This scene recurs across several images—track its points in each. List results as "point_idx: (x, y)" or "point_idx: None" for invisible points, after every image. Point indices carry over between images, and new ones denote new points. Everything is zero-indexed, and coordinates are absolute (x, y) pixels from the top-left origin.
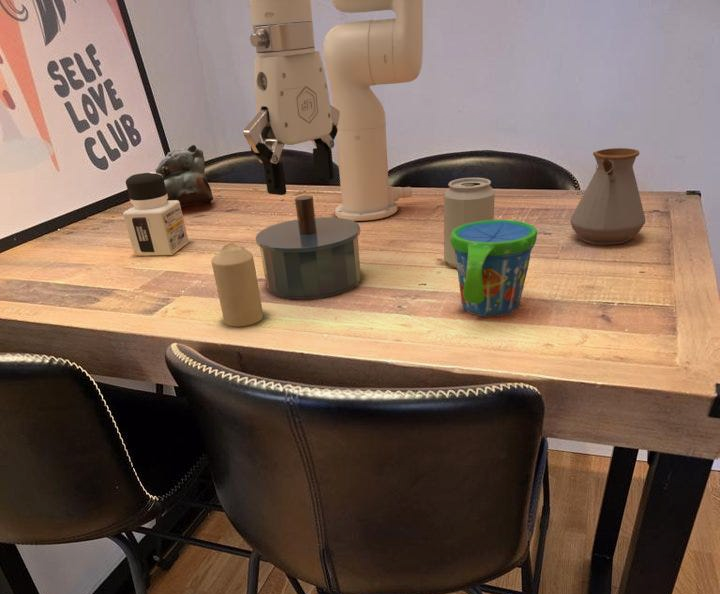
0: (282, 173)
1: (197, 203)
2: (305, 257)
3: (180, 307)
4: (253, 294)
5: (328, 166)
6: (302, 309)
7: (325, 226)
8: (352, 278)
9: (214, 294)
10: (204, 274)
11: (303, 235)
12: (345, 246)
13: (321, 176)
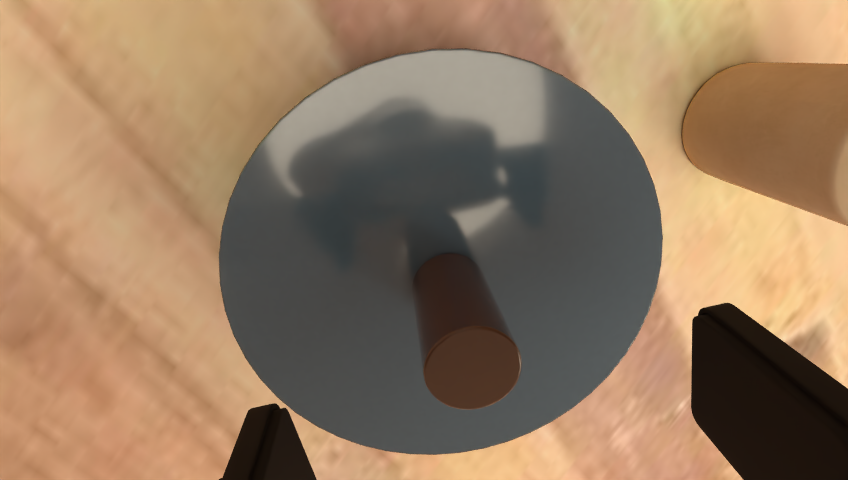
0: (816, 380)
1: None
2: None
3: (755, 320)
4: (801, 66)
5: (266, 473)
6: (592, 48)
7: (355, 291)
8: None
9: (653, 337)
10: (578, 469)
11: (492, 257)
12: None
13: (305, 471)
